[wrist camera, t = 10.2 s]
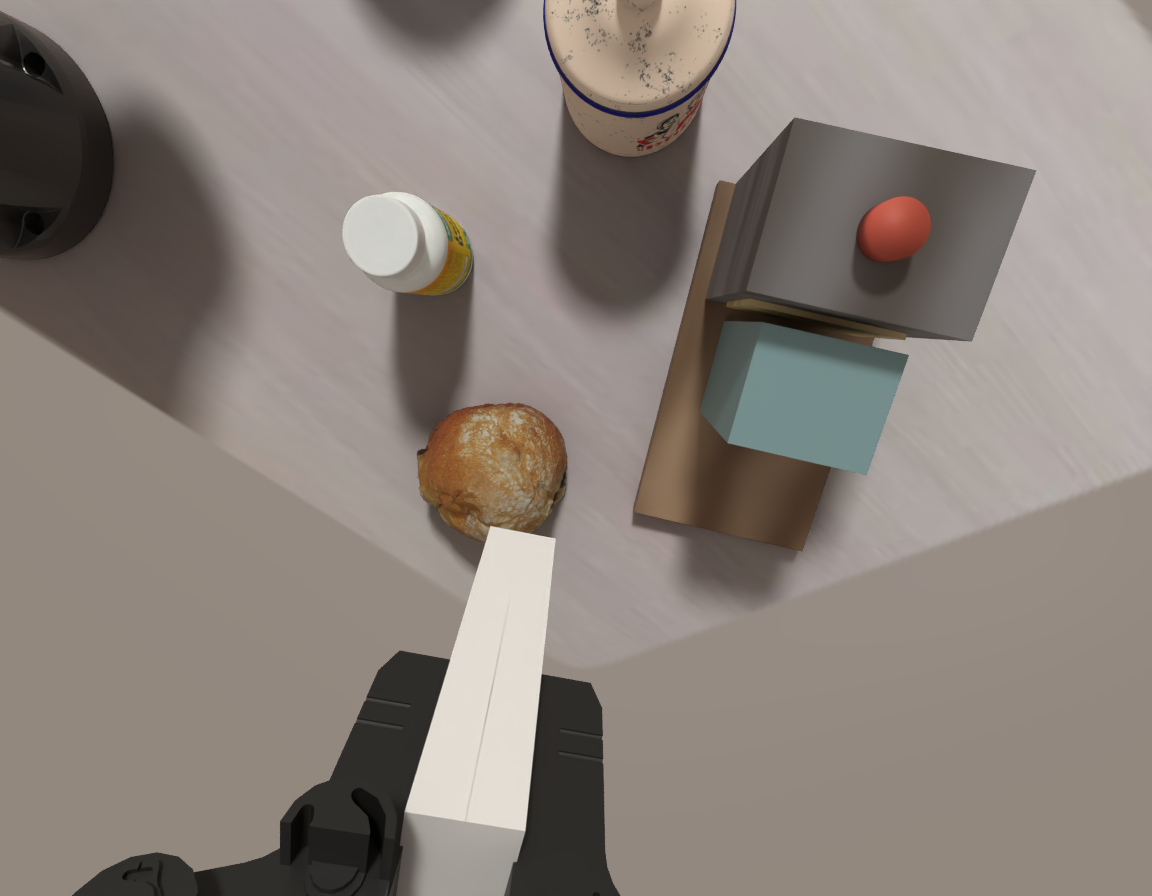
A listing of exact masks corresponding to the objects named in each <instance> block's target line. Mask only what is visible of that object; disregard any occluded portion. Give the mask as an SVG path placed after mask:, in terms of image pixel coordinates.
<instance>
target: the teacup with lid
mask: <svg viewBox="0 0 1152 896" xmlns="http://www.w3.org/2000/svg"><path fill="white" fill-rule="evenodd" d="M735 15H736V0H544V8H543V19H544V30H545V37H546V41H547V45H548V49H549V52H550V55H551V58H552V60H553V62H554V65H555V67H556V69H557V70H558V72H559V75H560V79H561V83H562V87H563V91H564V96H565V100H566V104H567V107H568V110H569V113H570V115H571V117H572V119H573V121H574V123H575V125H576V126H577V127H578V129H579V130H580V132H581V133H582V134H583V135H584V136H585V137H586V138H587V139H588V140H589V141H590V142H591V143H593V144H594V145H595V146H597V147H598V148H600V149H602V150H604V151H606V152H609V153H612V154H615V155H619V156H626V157H635V156H643V155H648V154H651V153H654V152H656V151H659V150H661V149H663V148H664V147H666V146H668V145H669V144H671V143H672V142H673V141H675V140H676V139H677V138H678V137H679V136H680V135H681V134H682V133H683V132H684V131H685V130H686V128H687V127H688V126H689V124H690V123H691V121H692V120H693V118H694V116H695V115H696V113H697V110H698V108H699V106H700V103H701V101H702V98H703V96H704V93H705V90H706V88H707V85H708V83H709V80H710V78H711V77H712V75H713V74H714V72H715V71H716V70H717V68H718V66H719V64H720V63H721V61H722V59H723V57H724V55H725V53H726V50H727V48H728V45H729V42H730V39H731V36H732V32H733V28H734V22H735Z"/></svg>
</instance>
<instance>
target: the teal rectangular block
mask: <svg viewBox="0 0 1152 896" xmlns="http://www.w3.org/2000/svg"><path fill="white" fill-rule="evenodd" d="M908 356H909V355H906V354H902V353H897V352H893V351H888V350H884V349H880V348H875V347H871V346H866V345H862V344H857V343H853V342H849V341H844V340H840V339H835V338H831V337H827V336H822V335H818V334H813V333H809V332H804V331H800V330H796V329H791V328H787V327H782V326H778V325H773V324H769V323H765V322H742V321H724V324H723V327H722V331H721V334H720V338H719V342H718V345H717V349H716V353H715V356H714V360H713V364H712V367H711V371H710V374H709V378H708V382H707V385H706V389H705V393H704V396H703V400H702V404H701V407H700V413H701V414H702V415H703V416H704V417H705V418H706V419H707V420H708V422H709V423H710V424H711V425H712V426H713V427H714V428H715V430H716V431H717V432H718V433H719V434H720V435H721V436H722V437H723V439H724V440H725V441H726V442H727V443H729V444H734V445H738V446H742V447H747V448H751V449H755V450H760V451H764V452H768V453H773V454H777V455H781V456H786V457H790V458H794V459H799V460H803V461H807V462H812V463H816V464H820V465H825V466H829V467H833V468H838V469H842V470H846V471H851V472H855V473H859V474H864V475H867V472H868V469H869V466H870V464H871V461H872V458H873V455H874V452H875V450H876V447H877V444H878V441H879V438H880V435H881V433H882V430H883V427H884V424H885V421H886V418H887V416H888V413H889V410H890V407H891V404H892V401H893V399H894V396H895V393H896V390H897V387H898V384H899V382H900V379H901V376H902V373H903V370H904V367H905V365H906V362H907V359H908Z"/></svg>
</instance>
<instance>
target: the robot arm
mask: <svg viewBox="0 0 1152 896" xmlns="http://www.w3.org/2000/svg"><path fill="white" fill-rule="evenodd" d="M112 169H113V156H112V145H111V138H110V133H109V128H108V125H107V121H106V118H105V115H104V112H103V109H102V107H101V104H100V102H99V100H98V97H97V95H96V93H95V91H94V90H93V88H92V86H91V84H90V83H89V81H88V79H87V78H86V76H85V75H84V73H83V72H82V71H81V69H80V68H79V66H78V65H77V64H76V63H75V62H74V60H73V59H72V58H71V57H70V56H69V55H68V54H67V53H66V52H65V51H64V50H63V49H62V48H61V47H60V46H59V45H58V44H56V43H55V42H54V41H53V40H52V39H50V38H49V37H48V36H46V35H45V34H43V33H42V32H40V31H38V30H37V29H35V28H33V27H31V26H29V25H27V24H25V23H23V22H21V21H19V20H17V19H15V18H13V17H11V16H9V15H7V14H5V13H3V12H1V11H0V257H2V258H12V259H24V260H32V259H42V258H47V257H51V256H54V255H57V254H59V253H62V252H64V251H66V250H68V249H69V248H71V247H73V246H74V245H75V244H77V243H78V242H79V241H81V240H82V239H83V238H84V237H85V236H86V235H87V234H88V233H89V231H90V230H91V229H92V228H93V226H94V225H95V224H96V222H97V220H98V219H99V217H100V215H101V213H102V211H103V209H104V207H105V204H106V201H107V198H108V195H109V191H110V186H111V180H112ZM554 548H555V538H549V537H544V536H539V535H534V534H529V533H524V532H519V531H513V530H508V529H503V528H498V527H493V526H490V530H489V533H488V536H487V540H486V543H485V546H484V550H483V553H482V556H481V560H480V563H479V566H478V570H477V573H476V576H475V579H474V583H473V586H472V589H471V593H470V596H469V599H468V603H467V606H466V609H465V613H464V616H463V619H462V623H461V626H460V629H459V633H458V636H457V640H456V643H455V646H454V649H453V653H452V656H451V659H450V660H449V659H443V658H438V657H432V656H427V655H421V654H416V653H410V652H405V651H399V652H398V653H397V654H395V655H394V656H393V657H392V658H391V659H390V660H389V661H388V662H387V663H386V664H385V665H384V666H383V667H381V668H380V669H379V670H378V672H377V675H376V677H375V679H374V681H373V684H372V686H371V688H370V691H369V693H368V695H367V698H366V701H365V702H364V704H363V706H362V708H361V711H360V713H359V715H358V718H357V721H356V723H355V724H354V726H353V729H352V731H351V733H350V735H349V738H348V740H347V742H346V744H345V747H344V749H343V751H342V753H341V756H340V758H339V760H338V762H337V765H336V767H335V769H334V771H333V774H332V776H331V778H330V780H329V781H327V782H324V783H321V784H318V785H316V786H314V787H313V788H311V789H310V790H309V791H307V792H306V793H305V794H303V795H302V796H301V797H299V798H298V799H297V800H295V802H294V803H293V804H292V806H291V807H290V808H289V810H288V811H287V813H286V814H285V815H284V817H283V818H282V820H281V821H280V849H278V850H276V851H274V852H272V853H270V854H268V855H266V856H264V857H262V858H259V859H255V860H252V861H248V862H245V863H240V864H235V865H230V866H225V867H220V868H214V869H209V870H204V871H199V872H193V869H192V868H191V867H189V866H188V865H187V864H186V863H185V862H184V861H183V860H182V859H180V858H179V857H177V856H172V855H167V854H162V853H151V854H146V855H140V856H134V857H130V858H128V859H126V860H124V861H122V862H119V863H117V864H115V865H113V866H111V867H109V868H107V869H105V870H103V871H101V872H100V873H99V874H98V875H96V876H95V877H94V878H93V879H91V880H90V881H89V882H88V883H86V884H85V885H84V886H83V887H82V888H80V889H79V890H78V891H76V892H75V893H74V895H72V896H620V894H619V893H618V891H617V889H616V888H615V886H614V884H613V882H612V879H611V876H610V874H609V871H608V868H607V862H606V854H605V824H604V779H603V763H602V761H603V741H602V736H603V730H602V707H601V705H600V703H599V700H598V698H597V696H596V694H595V692H594V689H593V687H592V685H591V683H588V682H582V681H576V680H571V679H565V678H559V677H554V676H548V675H543V674H542V663H543V655H544V645H545V635H546V626H547V616H548V606H549V596H550V587H551V577H552V567H553V558H554Z"/></svg>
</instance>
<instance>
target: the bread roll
mask: <svg viewBox="0 0 1152 896" xmlns="http://www.w3.org/2000/svg"><path fill="white" fill-rule="evenodd" d="M417 459H418V477H417V478H419V480H420V487H419V490H420V495H421V496H422V498H423V500H424V501H426V502H427V503H428V504H429V505H434V507H436V508H437V511H438V512H439V513H440V515H441V517H442V519H443V520H444V522H445V523H446V524H447V525H448V526H449V527H452V528H454V529H456V530H457V531H459V532H461V533H463V534H464V535H466V536H468V537H470V538H472V539H475V540H477V541H481V542H484V543H486V540H487V536H488V533H489V530H490V526H493V527H498V528H503V529H508V530H513V531H519V532H524V533H529V534H532V533H533V532H534V531H535V530H536V529H538V528H539V527H540V526H541V525H542V524H543V523H544V521H545V520H546V518H547V517H548V514H551V512H552V511H553V509H552V507H553V506H554V505H555V504H557V503H558V502H559V501H560V499H561V498H562V497H563V495H564V493H565V489H566V485H564V484H563V482H564V479H565V470H566V468H567V453H566V448H565V443H564V439H563V437H562V435H561V433H560V432H559V430H558V428H557V427H556V426H555V425H554V423H553V422H552V421H551V420H550V419H549V418H547V417H546V416H545V415H544V414H543V413H541V412H539V411H538V410H536V409H534V408H532V407H531V406H527V405H524V404H520V403H517V404H513V403H507V404H498V405H494V404H485V405H480V406H474V407H467V408H463V409H461V410H456V411H454V412H453V413H451V414H450V415H448V416H447V418H446V419H445V420H442V421H441V422H439V423H438V424H437V425H436V426H435V427H434V429H433V431H432V432H431V434H430V437H429V441H428V444H427V447H426V449H421V450H419V451H418V452H417Z"/></svg>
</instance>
